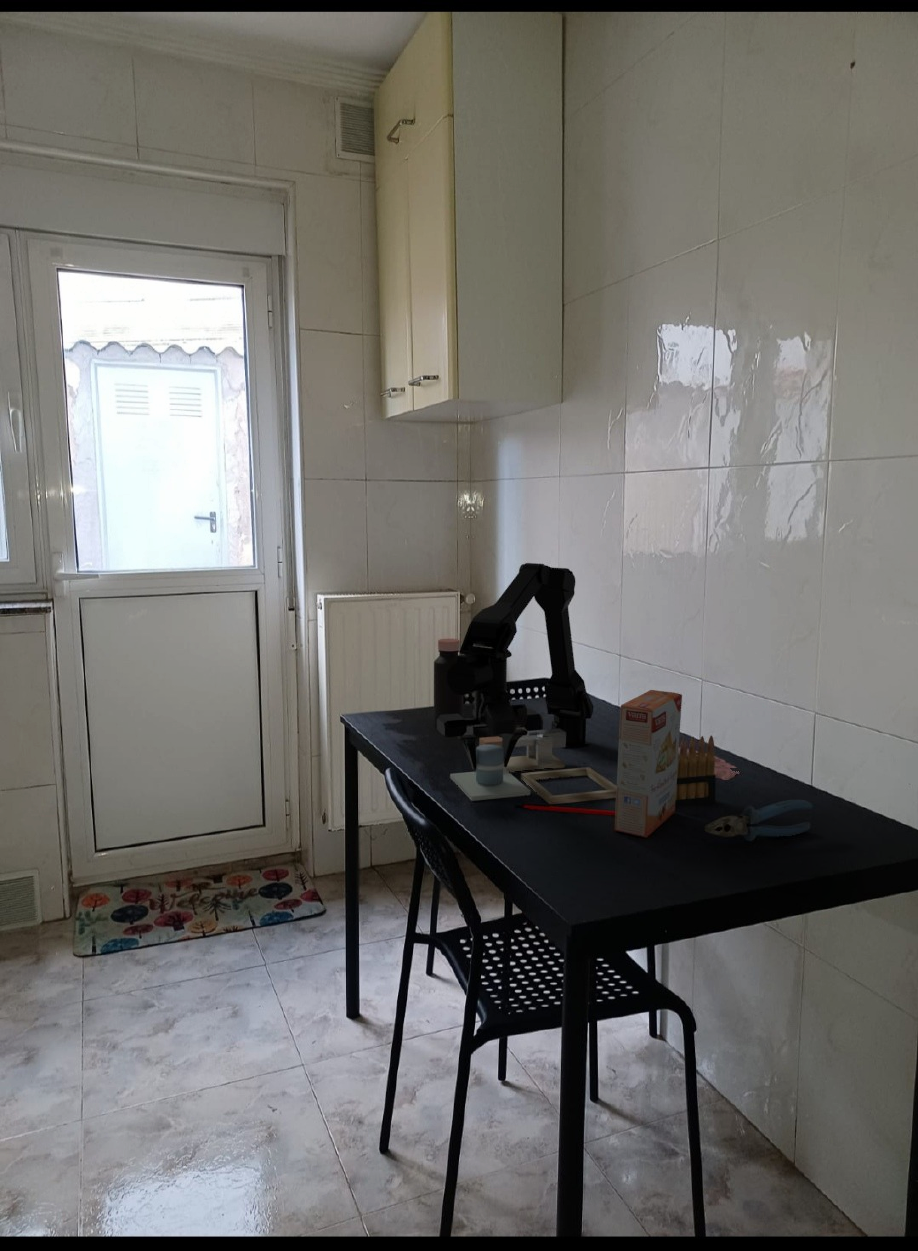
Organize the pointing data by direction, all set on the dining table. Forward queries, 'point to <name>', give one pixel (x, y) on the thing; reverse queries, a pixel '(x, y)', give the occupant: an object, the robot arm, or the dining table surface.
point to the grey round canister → (489, 764)
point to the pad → (489, 786)
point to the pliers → (750, 817)
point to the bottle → (443, 694)
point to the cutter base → (536, 756)
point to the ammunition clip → (696, 774)
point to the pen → (564, 809)
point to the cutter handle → (531, 739)
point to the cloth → (719, 767)
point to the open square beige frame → (575, 797)
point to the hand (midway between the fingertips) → (489, 768)
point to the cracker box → (647, 762)
